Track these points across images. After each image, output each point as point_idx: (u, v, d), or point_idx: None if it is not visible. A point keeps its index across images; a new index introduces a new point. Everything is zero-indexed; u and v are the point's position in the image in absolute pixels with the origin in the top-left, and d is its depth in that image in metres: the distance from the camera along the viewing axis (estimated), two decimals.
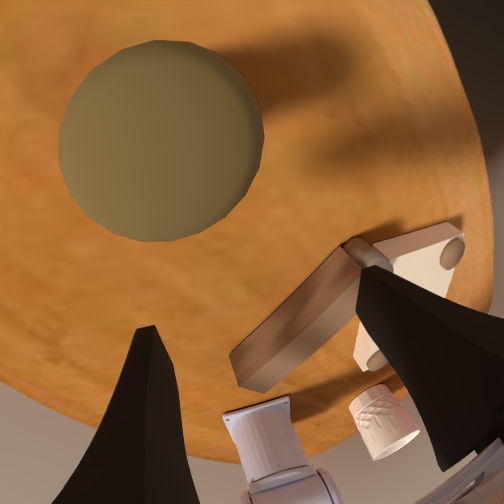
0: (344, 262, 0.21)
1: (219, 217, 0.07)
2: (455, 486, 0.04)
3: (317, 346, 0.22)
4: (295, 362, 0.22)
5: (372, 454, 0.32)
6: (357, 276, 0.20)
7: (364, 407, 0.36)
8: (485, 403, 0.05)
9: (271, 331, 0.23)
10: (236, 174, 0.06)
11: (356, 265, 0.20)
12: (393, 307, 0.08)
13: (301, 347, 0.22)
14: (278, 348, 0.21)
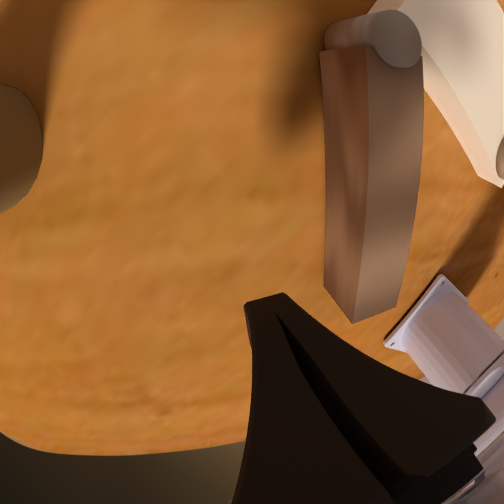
0: (338, 62, 0.10)
1: None
2: (455, 486, 0.04)
3: (411, 202, 0.12)
4: (400, 245, 0.13)
5: None
6: (364, 61, 0.08)
7: None
8: None
9: (338, 226, 0.14)
10: None
11: (351, 50, 0.09)
12: (289, 346, 0.08)
13: (388, 219, 0.12)
14: (358, 244, 0.13)
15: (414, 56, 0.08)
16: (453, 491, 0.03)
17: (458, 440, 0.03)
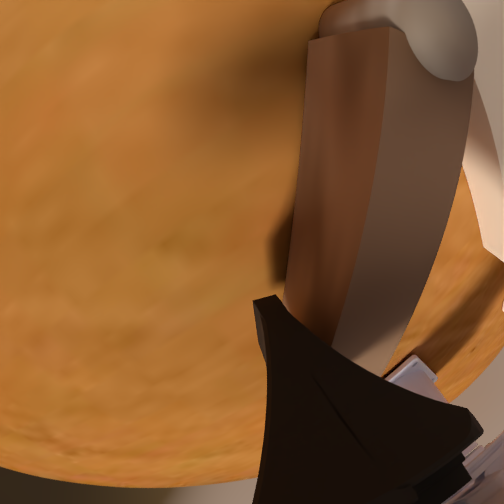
0: (336, 56, 0.06)
1: None
2: (455, 486, 0.04)
3: (414, 294, 0.08)
4: (384, 348, 0.09)
5: None
6: (384, 53, 0.04)
7: None
8: None
9: (299, 310, 0.10)
10: None
11: (362, 35, 0.05)
12: None
13: (375, 320, 0.08)
14: None
15: (466, 66, 0.04)
16: (439, 501, 0.03)
17: (440, 453, 0.03)
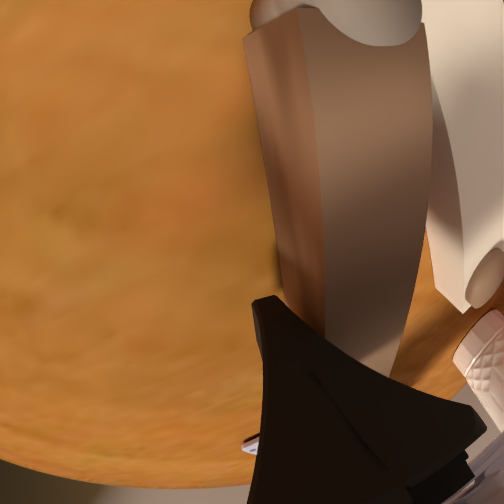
0: (264, 51, 0.05)
1: None
2: None
3: (407, 280, 0.07)
4: (388, 335, 0.09)
5: (500, 428, 0.15)
6: (299, 40, 0.04)
7: (476, 358, 0.19)
8: None
9: (296, 308, 0.10)
10: None
11: (278, 23, 0.04)
12: None
13: (368, 313, 0.08)
14: None
15: (409, 23, 0.04)
16: (443, 499, 0.03)
17: (445, 450, 0.03)
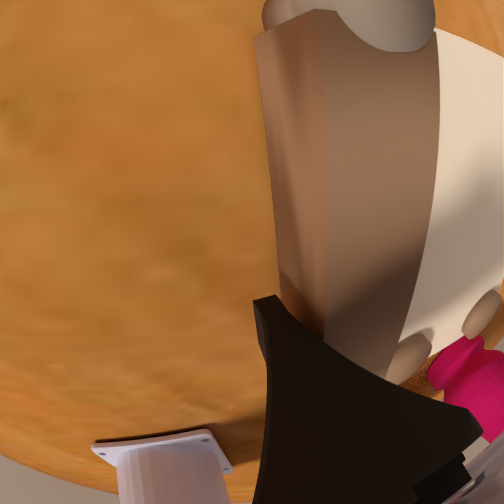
0: (277, 50, 0.05)
1: None
2: (455, 486, 0.04)
3: (407, 286, 0.07)
4: (385, 340, 0.09)
5: None
6: (315, 41, 0.04)
7: None
8: None
9: (294, 311, 0.10)
10: None
11: (294, 23, 0.04)
12: None
13: (366, 317, 0.08)
14: None
15: (422, 30, 0.04)
16: (439, 501, 0.03)
17: (440, 453, 0.03)
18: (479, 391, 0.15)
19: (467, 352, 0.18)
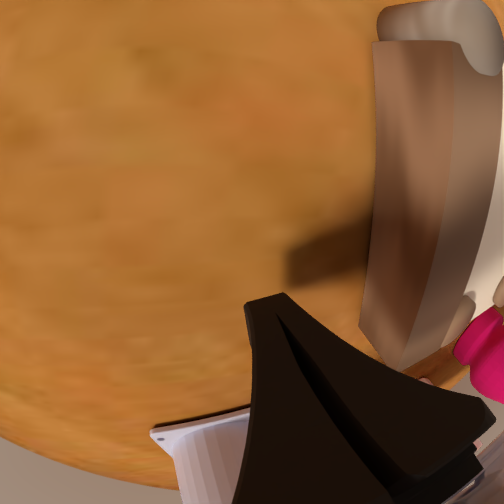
0: (404, 58, 0.07)
1: None
2: (455, 486, 0.04)
3: (476, 241, 0.09)
4: (457, 289, 0.10)
5: None
6: (450, 62, 0.05)
7: None
8: None
9: (388, 267, 0.11)
10: None
11: (428, 44, 0.05)
12: (289, 346, 0.08)
13: (453, 264, 0.09)
14: (416, 295, 0.09)
15: (499, 62, 0.05)
16: (453, 491, 0.03)
17: (458, 440, 0.03)
18: None
19: (490, 327, 0.20)
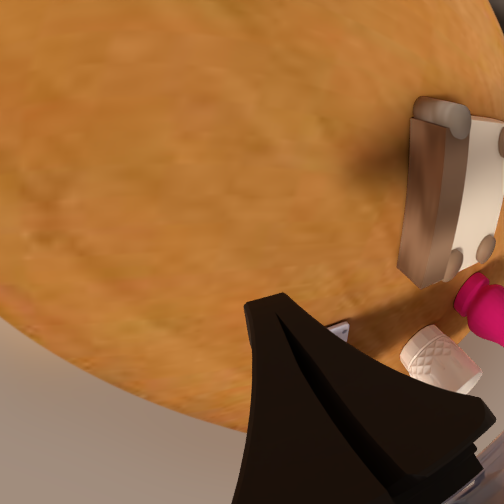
0: (425, 130, 0.17)
1: None
2: None
3: (457, 213, 0.19)
4: (449, 238, 0.20)
5: None
6: (444, 136, 0.15)
7: (421, 349, 0.31)
8: None
9: (414, 227, 0.21)
10: None
11: (436, 127, 0.15)
12: None
13: (446, 223, 0.19)
14: (429, 238, 0.19)
15: (467, 131, 0.15)
16: (453, 491, 0.03)
17: (458, 440, 0.03)
18: (490, 306, 0.26)
19: (479, 284, 0.29)
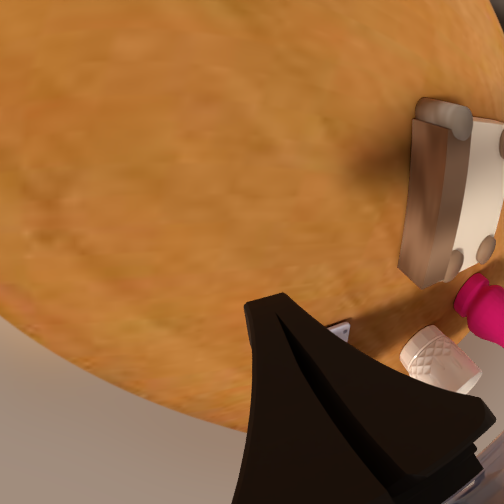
0: (427, 131, 0.17)
1: None
2: (455, 486, 0.04)
3: (458, 213, 0.19)
4: (450, 239, 0.20)
5: None
6: (446, 137, 0.15)
7: (421, 350, 0.31)
8: None
9: (415, 227, 0.21)
10: None
11: (438, 128, 0.15)
12: (289, 346, 0.08)
13: (447, 224, 0.19)
14: (430, 239, 0.19)
15: (469, 132, 0.15)
16: (453, 491, 0.03)
17: (458, 440, 0.03)
18: (490, 306, 0.27)
19: (479, 285, 0.30)
